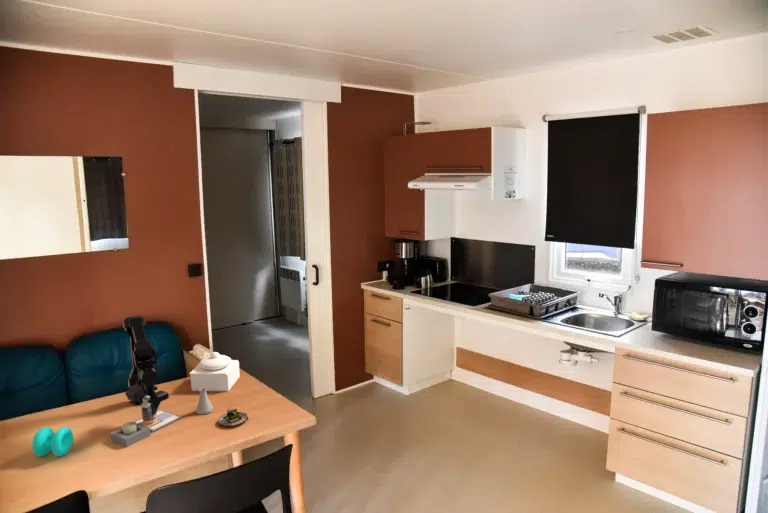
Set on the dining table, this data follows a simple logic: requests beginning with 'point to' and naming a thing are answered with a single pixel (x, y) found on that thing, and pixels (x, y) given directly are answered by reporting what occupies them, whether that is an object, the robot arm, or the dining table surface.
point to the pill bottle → (147, 411)
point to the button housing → (130, 436)
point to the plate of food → (232, 417)
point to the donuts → (52, 441)
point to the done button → (129, 428)
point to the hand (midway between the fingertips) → (149, 412)
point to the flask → (204, 403)
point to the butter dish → (215, 373)
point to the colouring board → (160, 420)
